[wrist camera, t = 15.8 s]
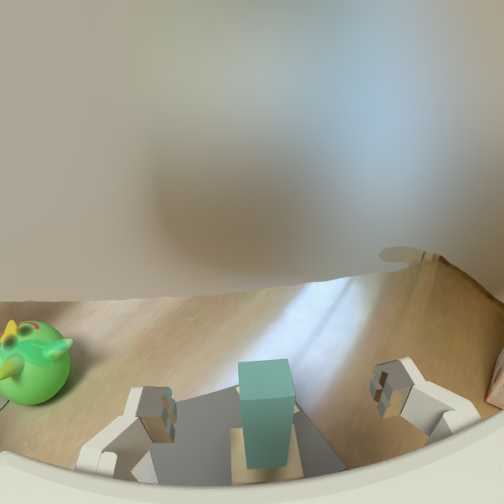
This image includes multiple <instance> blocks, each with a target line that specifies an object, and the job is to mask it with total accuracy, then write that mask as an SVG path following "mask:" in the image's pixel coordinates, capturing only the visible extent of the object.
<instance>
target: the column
mask: <svg viewBox="0 0 504 504" xmlns="http://www.w3.org/2000/svg"><path fill="white" fill-rule="evenodd" d="M238 374H239V395H240V408H241V418H242V428H243V437H244V446H245V455H246V464H247V470H248V469H263V468H274V467H284V466H286V464H287V458H288V451H289V444H290V437H291V429H292V422H293V414H294V406H295V397H296V395H295V391H294V386H293V381H292V377H291V372H290V368H289V363H288V359H278V360H266V361H251V362H238Z"/></svg>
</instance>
